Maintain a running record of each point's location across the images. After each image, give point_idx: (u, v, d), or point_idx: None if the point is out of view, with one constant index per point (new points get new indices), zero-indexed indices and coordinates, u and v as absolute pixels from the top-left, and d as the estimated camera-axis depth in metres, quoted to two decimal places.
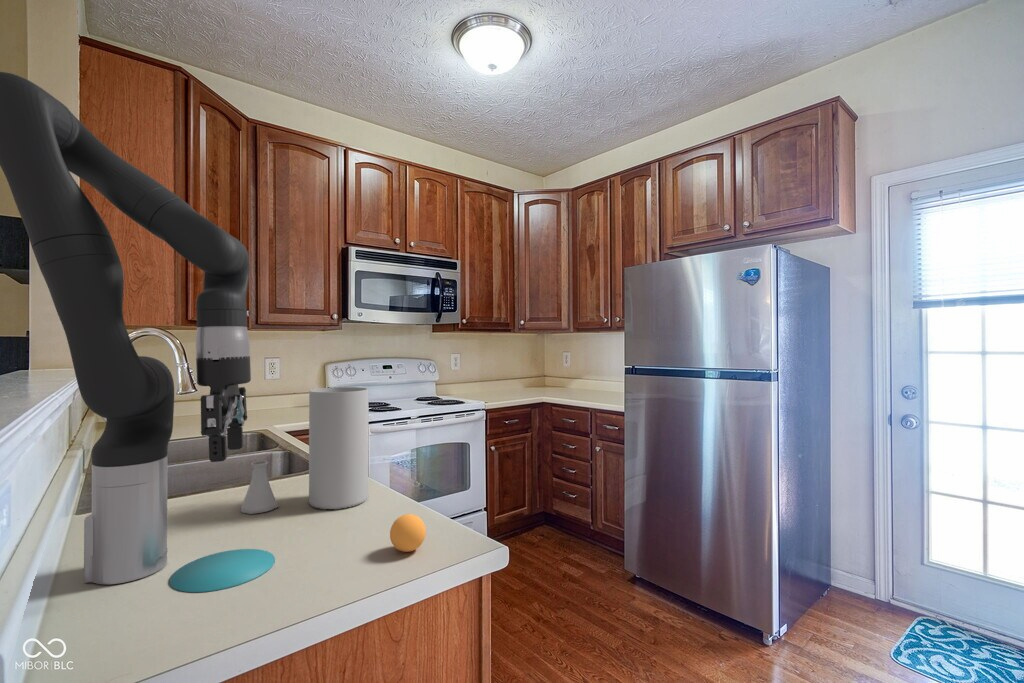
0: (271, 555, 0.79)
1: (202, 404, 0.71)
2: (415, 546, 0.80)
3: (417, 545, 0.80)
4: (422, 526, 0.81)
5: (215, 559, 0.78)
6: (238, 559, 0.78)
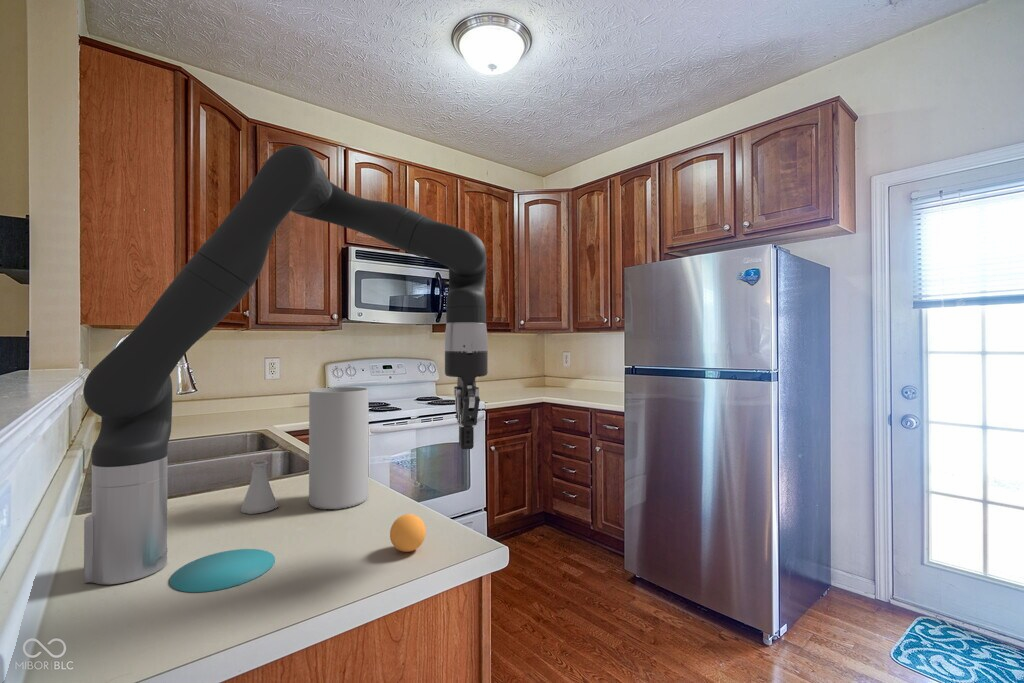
0: (271, 555, 0.79)
1: (465, 406, 0.79)
2: (415, 546, 0.80)
3: (417, 545, 0.80)
4: (422, 526, 0.81)
5: (215, 559, 0.78)
6: (238, 559, 0.78)
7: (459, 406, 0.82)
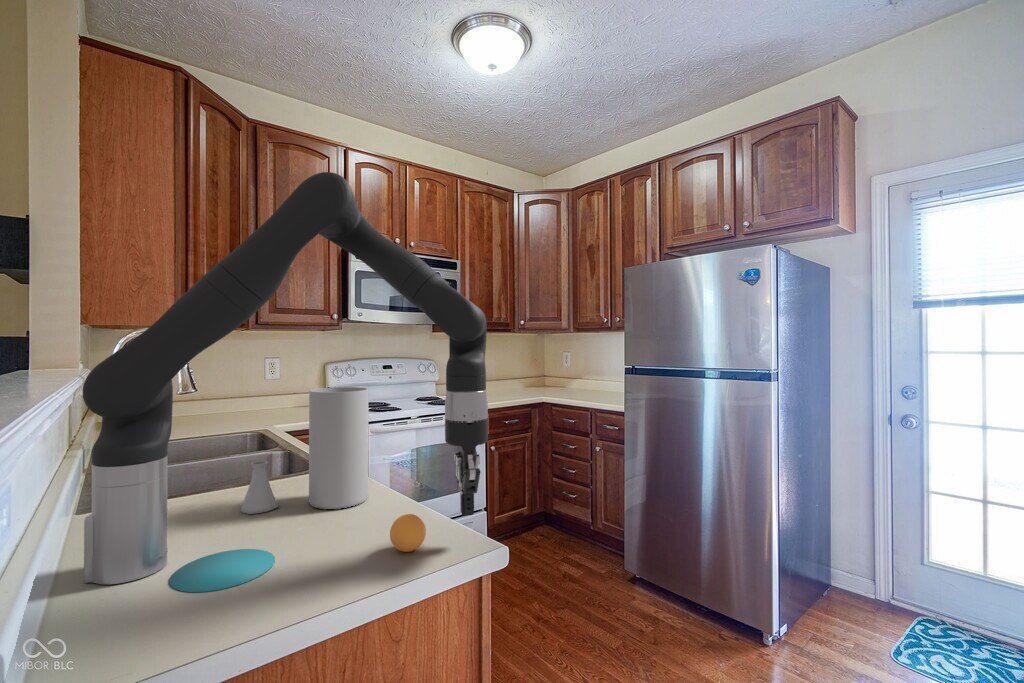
0: (271, 555, 0.79)
1: (466, 478, 0.79)
2: (415, 546, 0.80)
3: (417, 545, 0.80)
4: (422, 526, 0.81)
5: (215, 559, 0.78)
6: (238, 559, 0.78)
7: (460, 474, 0.83)
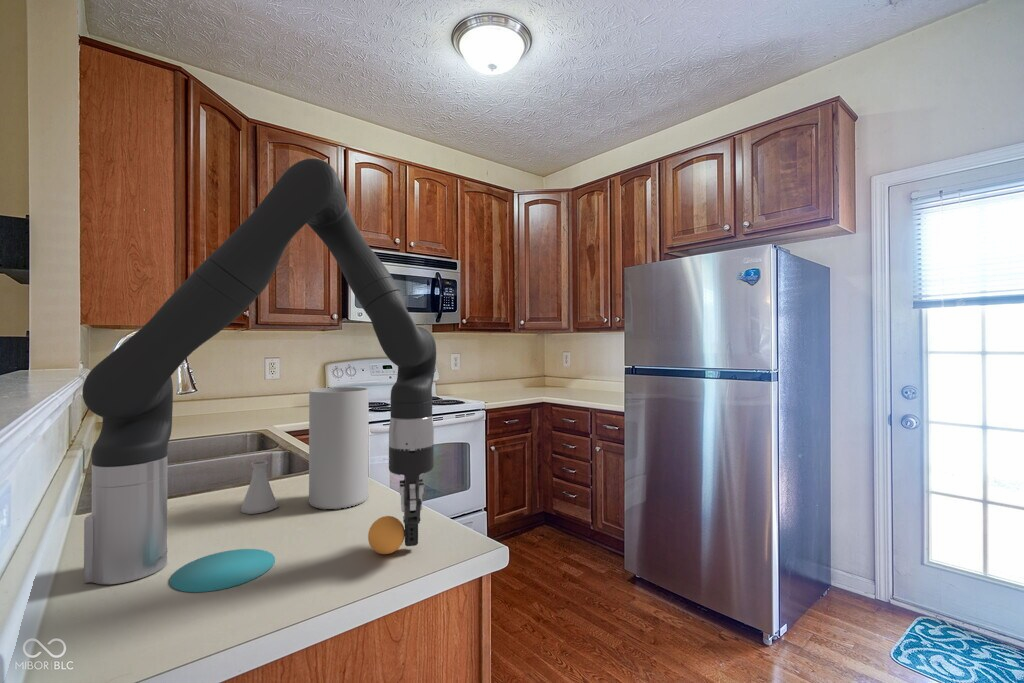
0: (271, 555, 0.79)
1: (406, 509, 0.76)
2: (398, 539, 0.79)
3: (399, 536, 0.79)
4: (388, 521, 0.80)
5: (215, 559, 0.78)
6: (238, 559, 0.78)
7: (402, 504, 0.80)
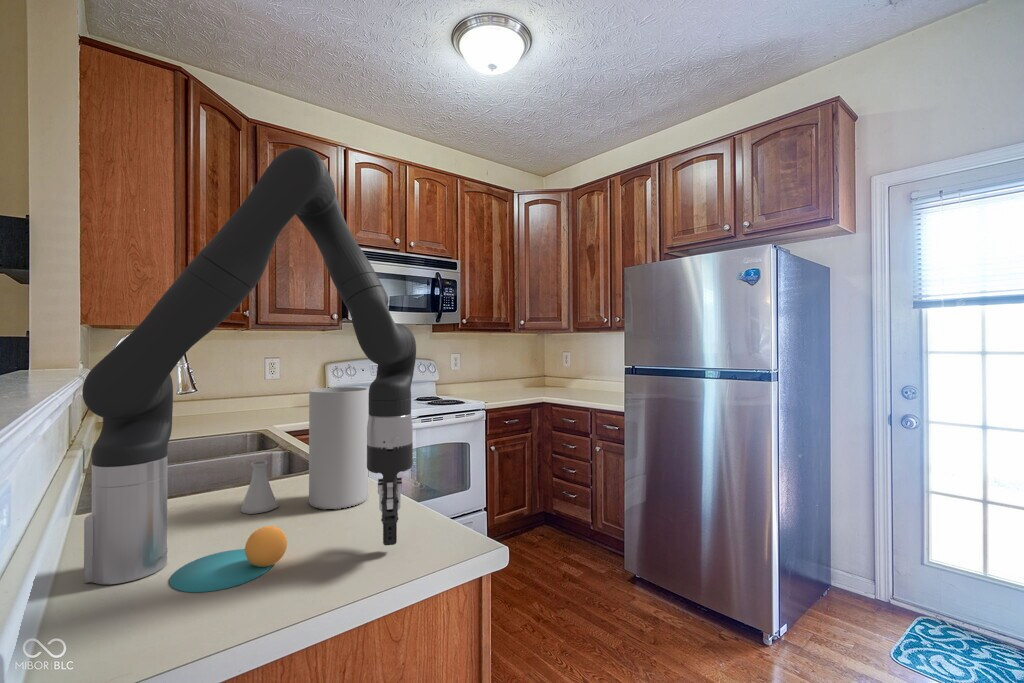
0: None
1: (383, 508, 0.76)
2: (276, 553, 0.75)
3: (277, 550, 0.75)
4: (269, 532, 0.75)
5: (215, 559, 0.78)
6: (238, 559, 0.78)
7: (380, 503, 0.79)
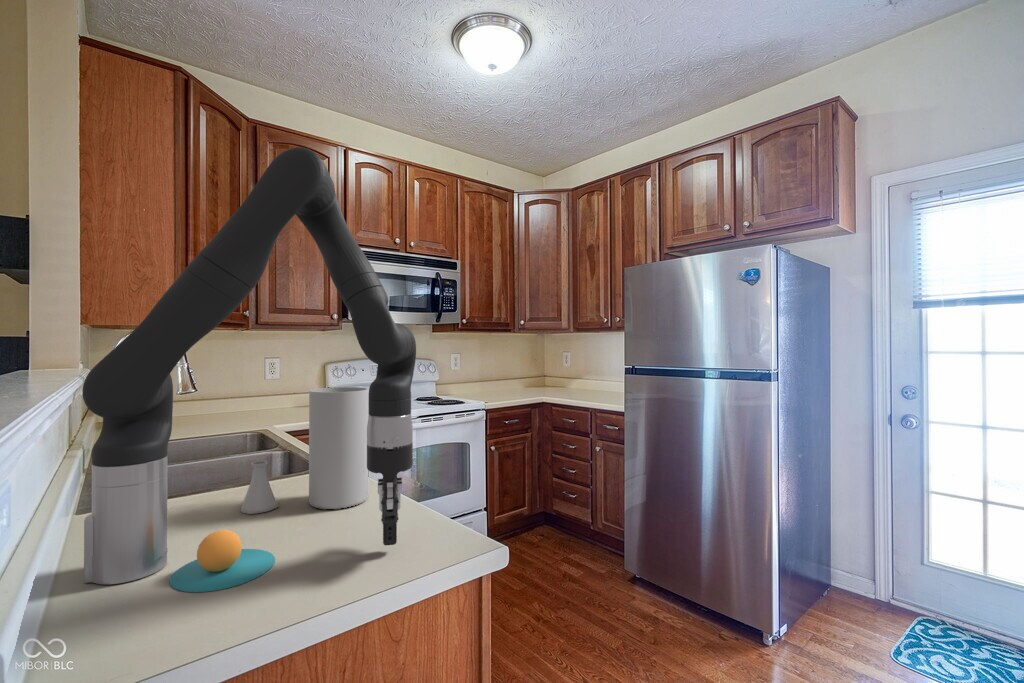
0: (271, 555, 0.79)
1: (383, 508, 0.76)
2: (208, 546, 0.72)
3: (206, 545, 0.73)
4: (198, 561, 0.73)
5: None
6: (238, 559, 0.78)
7: (380, 503, 0.79)
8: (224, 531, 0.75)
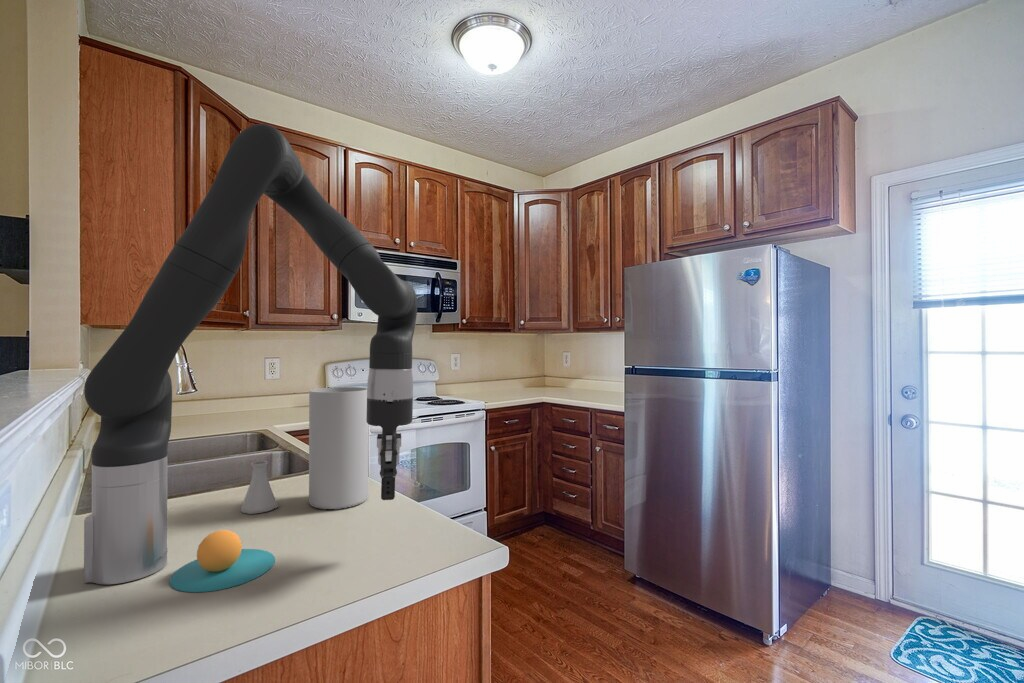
0: (271, 555, 0.79)
1: (382, 459, 0.75)
2: (208, 546, 0.72)
3: (206, 545, 0.73)
4: (198, 561, 0.73)
5: None
6: (238, 559, 0.78)
7: (379, 456, 0.79)
8: (224, 531, 0.75)
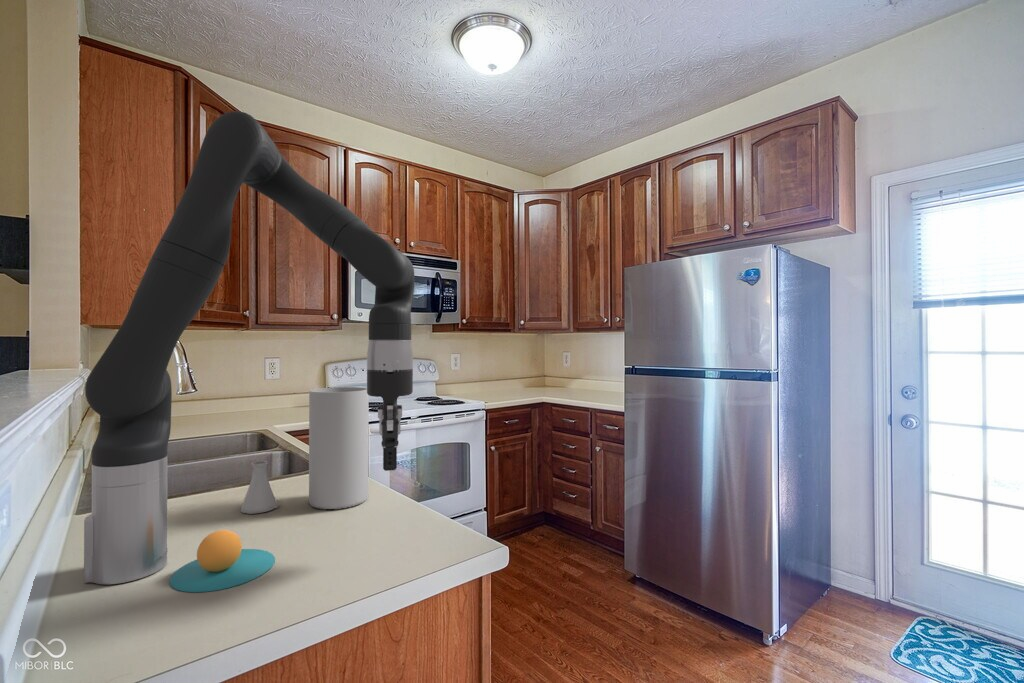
0: (271, 555, 0.79)
1: (383, 429, 0.76)
2: (208, 546, 0.72)
3: (206, 545, 0.73)
4: (198, 561, 0.73)
5: None
6: (238, 559, 0.78)
7: (380, 427, 0.79)
8: (224, 531, 0.75)
